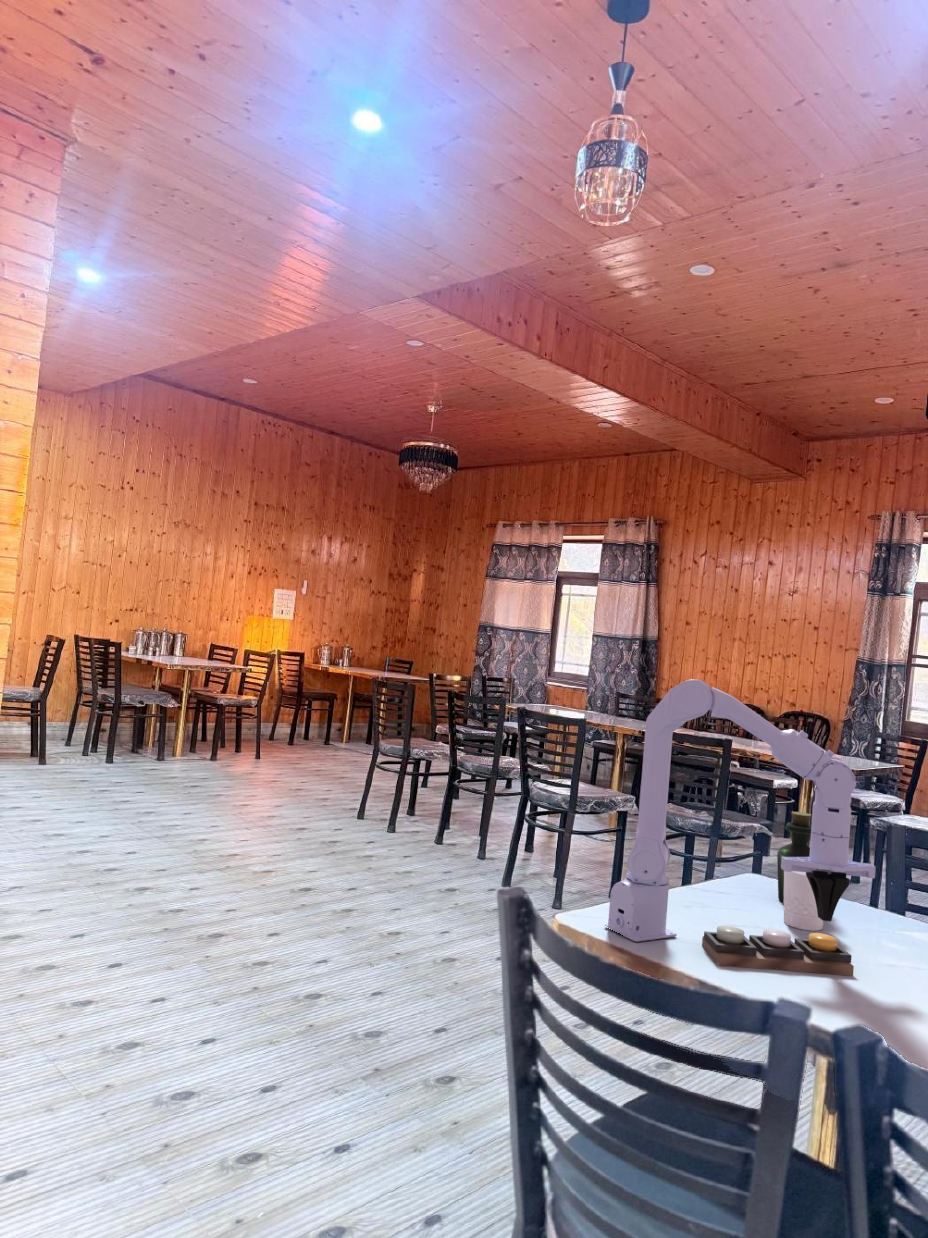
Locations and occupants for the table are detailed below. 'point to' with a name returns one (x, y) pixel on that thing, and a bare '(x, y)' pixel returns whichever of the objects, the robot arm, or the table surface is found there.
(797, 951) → the button panel
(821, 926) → the white cup
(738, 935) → the sage button
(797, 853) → the potion bottle
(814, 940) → the amber button
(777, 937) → the pale pink button
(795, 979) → the table surface
